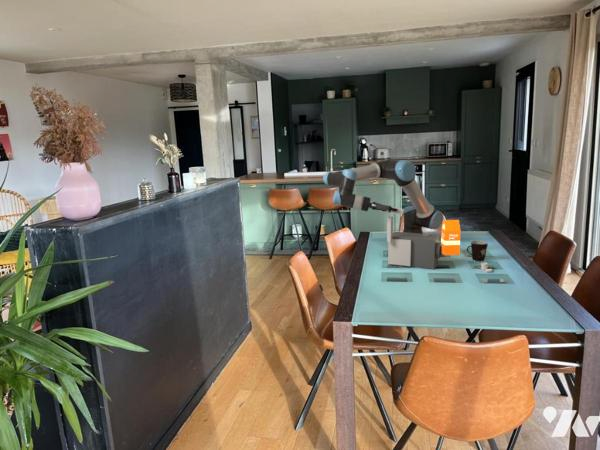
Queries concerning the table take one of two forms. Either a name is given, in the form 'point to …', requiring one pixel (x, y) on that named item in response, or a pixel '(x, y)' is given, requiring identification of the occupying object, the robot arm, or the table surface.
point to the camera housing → (422, 249)
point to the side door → (397, 247)
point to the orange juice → (450, 237)
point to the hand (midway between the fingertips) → (401, 211)
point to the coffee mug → (478, 250)
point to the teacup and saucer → (485, 267)
